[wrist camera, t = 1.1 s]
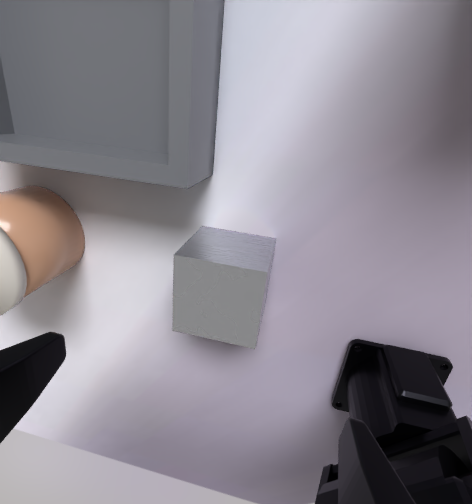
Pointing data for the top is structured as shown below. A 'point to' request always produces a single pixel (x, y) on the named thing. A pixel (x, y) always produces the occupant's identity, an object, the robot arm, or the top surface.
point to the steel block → (222, 285)
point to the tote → (111, 87)
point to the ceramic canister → (35, 241)
